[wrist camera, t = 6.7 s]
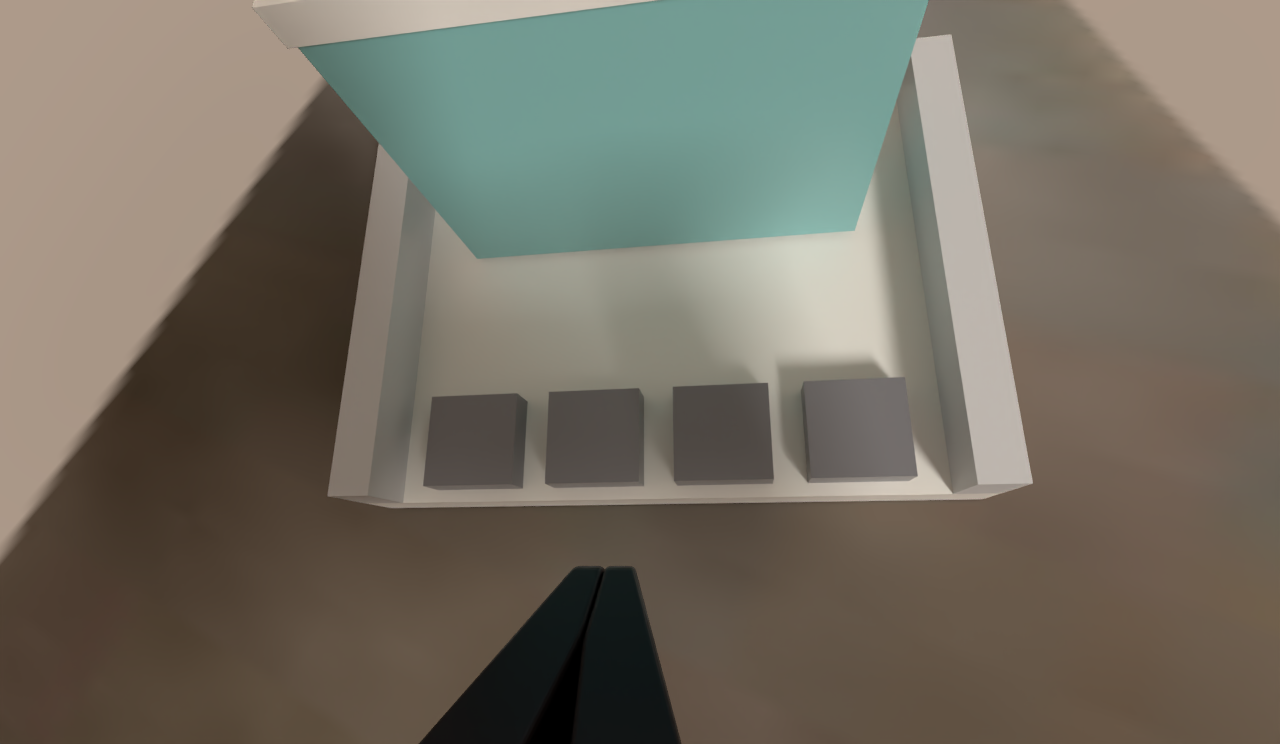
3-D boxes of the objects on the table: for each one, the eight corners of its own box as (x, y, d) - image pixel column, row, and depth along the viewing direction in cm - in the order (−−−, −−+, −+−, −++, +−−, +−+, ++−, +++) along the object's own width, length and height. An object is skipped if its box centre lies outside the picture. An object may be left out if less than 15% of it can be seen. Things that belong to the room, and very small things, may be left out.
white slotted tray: (982, 499, 15) (1032, 483, 12) (390, 508, 17) (327, 496, 15) (921, 111, 18) (950, 34, 16) (430, 160, 21) (385, 99, 18)
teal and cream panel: (858, 233, 16) (969, -95, 8) (473, 262, 18) (252, 8, 10) (846, 127, 17) (935, -259, 9) (482, 162, 19) (287, -143, 11)
